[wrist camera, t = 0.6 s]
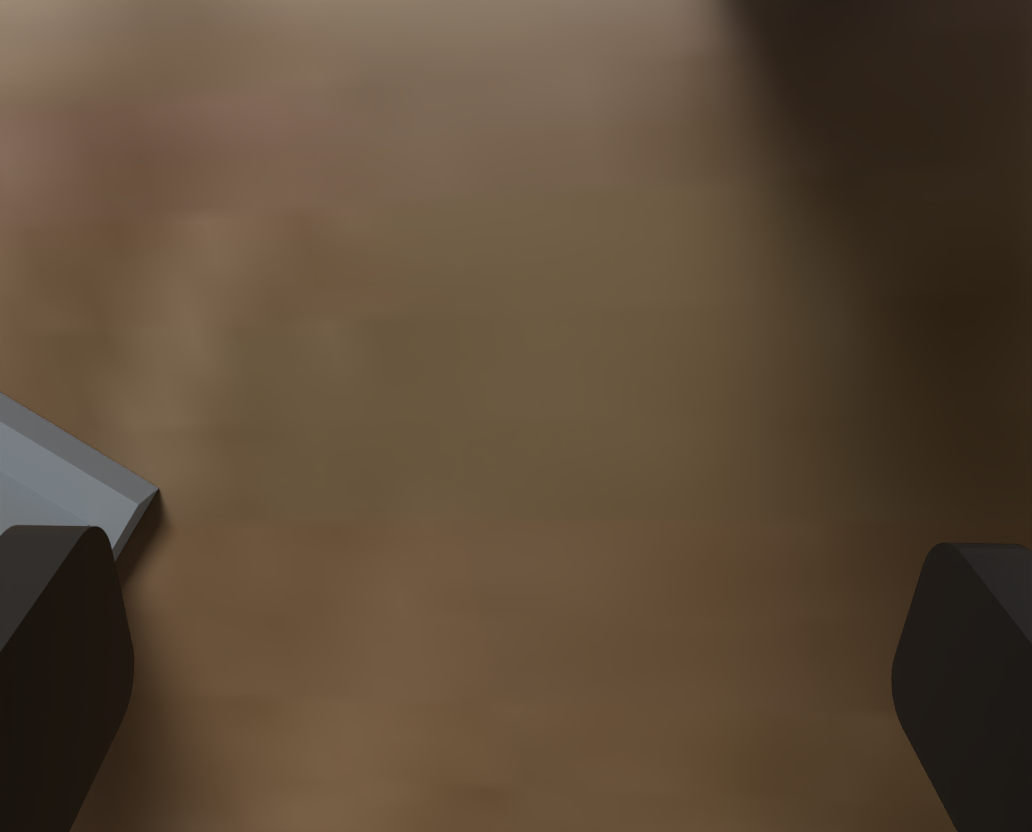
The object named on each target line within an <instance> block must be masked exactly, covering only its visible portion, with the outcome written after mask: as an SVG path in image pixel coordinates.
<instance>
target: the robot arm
mask: <svg viewBox="0 0 1032 832" xmlns="http://www.w3.org/2000/svg"><path fill="white" fill-rule="evenodd" d="M133 676H134V653H133V646H132V641H131V637H130V632H129V627H128V622H127V618H126V613H125V608H124V603H123V599H122V594H121V589H120V584H119V580H118V575H117V570H116V565H115V561H114V556H113V551H112V547H111V543H110V540H109V538H108V536H107V534H106V532H105V531H104V530H103V529H102V528H100V527H98V526H55V525H14V526H11V527H10V528H8V529H7V530H5V531H4V532H3V533H2V535H1V536H0V832H69V831H70V829H71V827H72V824H73V822H74V820H75V818H76V816H77V814H78V812H79V810H80V808H81V806H82V803H83V801H84V799H85V797H86V795H87V793H88V791H89V789H90V787H91V784H92V782H93V780H94V778H95V776H96V774H97V772H98V770H99V768H100V766H101V763H102V761H103V759H104V757H105V755H106V753H107V751H108V749H109V747H110V745H111V742H112V740H113V738H114V736H115V734H116V732H117V730H118V728H119V726H120V723H121V721H122V719H123V717H124V715H125V712H126V709H127V706H128V703H129V699H130V695H131V690H132V684H133ZM892 694H893V700H894V705H895V709H896V713H897V716H898V719H899V721H900V723H901V726H902V728H903V730H904V732H905V733H906V735H907V737H908V739H909V741H910V743H911V745H912V747H913V749H914V750H915V752H916V754H917V756H918V758H919V760H920V762H921V764H922V766H923V767H924V769H925V771H926V773H927V775H928V777H929V779H930V781H931V783H932V784H933V786H934V788H935V790H936V792H937V794H938V796H939V798H940V800H941V801H942V803H943V805H944V807H945V809H946V811H947V813H948V815H949V817H950V818H951V820H952V822H953V824H954V826H955V828H956V830H957V832H1032V552H1031V551H1030V550H1029V549H1028V548H1026V547H1024V546H1022V545H1019V544H982V543H940V544H937V545H936V546H934V547H933V548H932V549H931V550H930V552H929V553H928V555H927V557H926V559H925V562H924V564H923V567H922V571H921V574H920V577H919V580H918V583H917V587H916V590H915V593H914V596H913V599H912V603H911V606H910V609H909V612H908V615H907V619H906V622H905V625H904V628H903V631H902V635H901V638H900V641H899V644H898V647H897V651H896V654H895V657H894V661H893V667H892Z"/></svg>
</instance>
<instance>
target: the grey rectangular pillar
mask: <svg viewBox="0 0 1032 832" xmlns="http://www.w3.org/2000/svg"><path fill="white" fill-rule="evenodd" d="M157 490H158V487H156V486H154V485H153V484H151V483H149V482H148V481H146V480H144V479H143V478H141V477H139V476H138V475H136V474H134V473H133V472H131V471H129V470H128V469H126V468H124V467H123V466H121V465H119V464H118V463H116V462H115V461H113V460H111V459H110V458H108V457H106V456H105V455H103V454H101V453H100V452H98V451H96V450H95V449H93V448H91V447H90V446H88V445H86V444H85V443H83V442H81V441H80V440H78V439H76V438H75V437H73V436H72V435H70V434H68V433H67V432H65V431H63V430H62V429H60V428H58V427H57V426H55V425H53V424H52V423H50V422H48V421H47V420H45V419H43V418H42V417H40V416H38V415H37V414H35V413H33V412H32V411H30V410H29V409H27V408H25V407H24V406H22V405H20V404H19V403H17V402H15V401H14V400H12V399H10V398H9V397H7V396H5V395H4V394H2V393H0V536H1V535H2V533H3V532H4V531H5V530H7V529H8V528H10V527H11V526H14V525H55V526H98V527H100V528H102V529H103V530H104V531H105V532H106V534H107V536H108V538H109V540H110V543H111V547H112V551H113V556H114V561H116V559H117V558H118V556H119V554H120V553H121V551H122V549H123V548H124V546H125V544H126V543H127V541H128V539H129V537H130V536H131V534H132V532H133V531H134V529H135V527H136V526H137V524H138V522H139V521H140V519H141V517H142V515H143V514H144V512H145V510H146V509H147V507H148V505H149V504H150V502H151V500H152V499H153V497H154V495H155V493H156V492H157Z"/></svg>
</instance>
